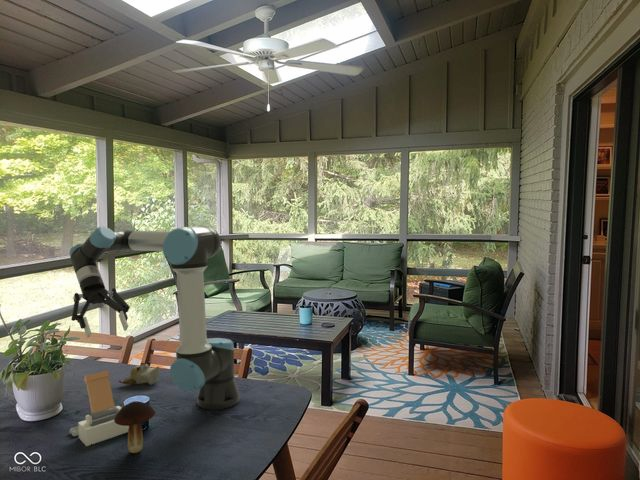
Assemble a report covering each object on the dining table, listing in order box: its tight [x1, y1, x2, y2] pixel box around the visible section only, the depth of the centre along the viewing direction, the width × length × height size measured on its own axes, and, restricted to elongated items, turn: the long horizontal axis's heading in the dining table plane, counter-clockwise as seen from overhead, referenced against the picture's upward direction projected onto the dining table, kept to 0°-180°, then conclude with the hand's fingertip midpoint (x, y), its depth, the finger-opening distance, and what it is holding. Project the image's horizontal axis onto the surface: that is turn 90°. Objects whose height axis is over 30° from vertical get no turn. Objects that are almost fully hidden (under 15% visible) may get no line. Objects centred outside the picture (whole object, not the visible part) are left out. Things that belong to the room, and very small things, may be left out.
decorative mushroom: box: [114, 400, 156, 454], centre depth 133 cm, size 11×11×15 cm
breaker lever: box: [83, 369, 117, 420], centre depth 145 cm, size 3×7×14 cm, turn 134°
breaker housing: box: [68, 405, 129, 447], centre depth 145 cm, size 12×15×7 cm
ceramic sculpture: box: [118, 362, 160, 386], centre depth 185 cm, size 11×9×15 cm
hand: (108, 331), depth 154 cm, fingers open, 11 cm apart
